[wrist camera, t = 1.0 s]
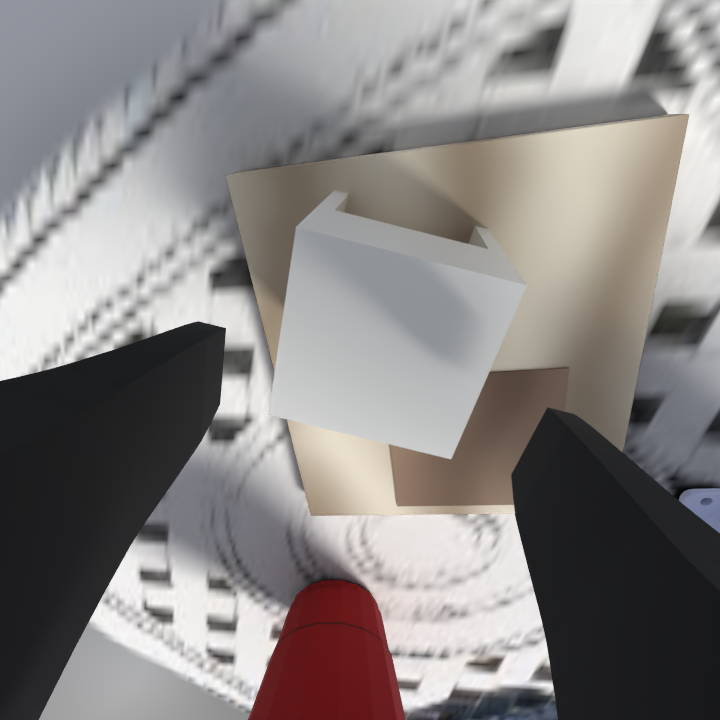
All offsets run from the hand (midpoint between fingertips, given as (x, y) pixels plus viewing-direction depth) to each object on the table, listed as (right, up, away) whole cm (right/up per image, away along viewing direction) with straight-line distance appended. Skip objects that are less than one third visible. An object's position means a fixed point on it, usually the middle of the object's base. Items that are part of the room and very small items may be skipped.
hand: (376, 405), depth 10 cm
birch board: (+3, +1, +10) cm, 10 cm away
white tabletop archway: (+1, +4, +7) cm, 8 cm away
